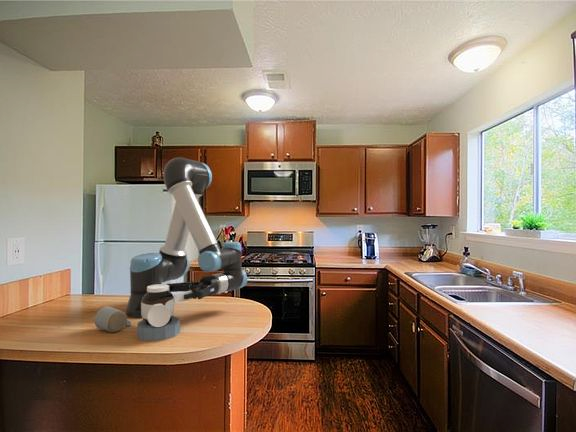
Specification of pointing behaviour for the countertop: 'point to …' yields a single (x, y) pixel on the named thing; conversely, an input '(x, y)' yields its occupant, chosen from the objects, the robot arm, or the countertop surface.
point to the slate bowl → (158, 330)
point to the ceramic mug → (111, 319)
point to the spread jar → (157, 305)
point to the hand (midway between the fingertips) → (162, 295)
